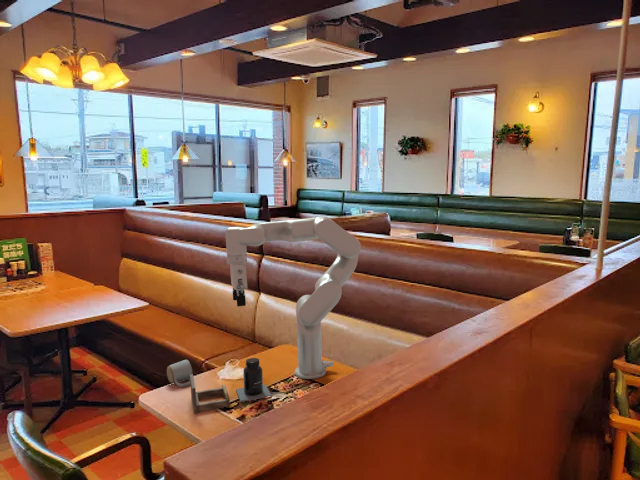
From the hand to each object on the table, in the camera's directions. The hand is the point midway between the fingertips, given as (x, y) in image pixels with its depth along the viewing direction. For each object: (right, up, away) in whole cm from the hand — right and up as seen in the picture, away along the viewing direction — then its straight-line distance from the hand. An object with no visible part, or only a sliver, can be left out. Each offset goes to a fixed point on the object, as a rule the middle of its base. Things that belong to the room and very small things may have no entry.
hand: (239, 302), depth 182 cm
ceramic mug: (-23, -31, +2) cm, 39 cm away
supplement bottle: (+7, -31, -11) cm, 34 cm away
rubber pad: (+7, -32, -11) cm, 34 cm away
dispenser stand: (-7, -33, -17) cm, 37 cm away
